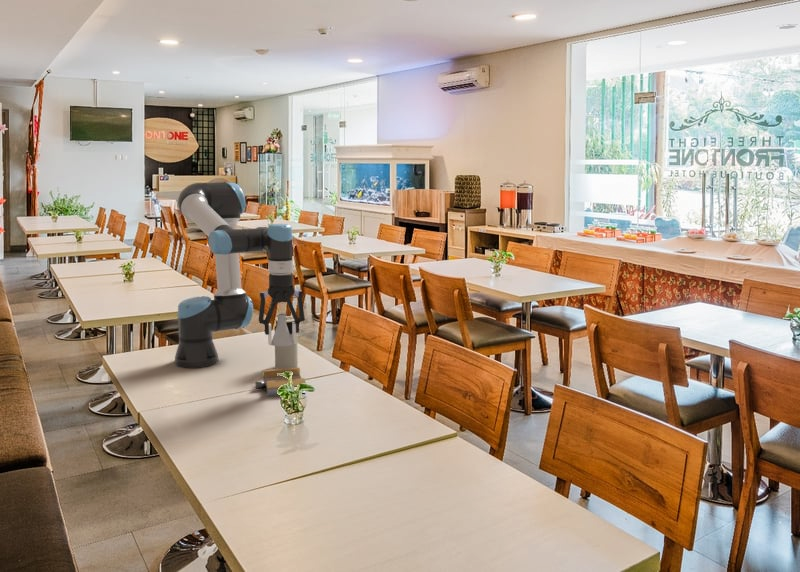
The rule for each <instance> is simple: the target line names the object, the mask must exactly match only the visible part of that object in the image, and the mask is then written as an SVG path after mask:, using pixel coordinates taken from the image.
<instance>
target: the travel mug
mask: <svg viewBox="0 0 800 572" xmlns="http://www.w3.org/2000/svg"><path fill="white" fill-rule="evenodd" d="M274 320H275V326H274V331H275V330H276V327H277V322H278V317H277V316H276V317H275V319H274ZM292 322H295V321H294V318H293V316H292V315H290V316H287V315H286V324H287V328H288V330H289V333H290V336H291V338H292V341H293V336H292ZM298 352H299V351H298V333H296V344H294V343H293V344H292V345H289V346H274V367H275V368H274V369H286V368H299V365H298V363H299V361H298V360H299V358H298Z"/></svg>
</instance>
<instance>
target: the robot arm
mask: <svg viewBox="0 0 800 572" xmlns="http://www.w3.org/2000/svg"><path fill="white" fill-rule="evenodd" d="M177 207H178V209H179V210H178V211H180V213H181V214H182V216H184V218H186V219H188V220H191V221H192V222H193V223H195V224H196V226H197V227H198V228H199V229H200V230H201V231H202V232H203V233H204V234H205V235H206V236H207V237H208V246H209V249H210V252H211V253H212V254H214V259H215V271H216V285H217V287H216V288H217V289H216V291H215V292H214V293H213V297H214V298H213V299H212V298H211V297H209V296H207V295H206V296H205V295H204V296H193V297H190V298H186V299H184V300H182V301H181V302H179V304H178V306H177V323H178V324H177V326H178V346H177V349H176V352H175V355H174V364H175V366H177V367H181V368H189V369H190V368H192V369H194V368H204V367H205V368H206V367H210V366H212V365H216V363H218V362H219V353H218V351H217V348H216V346H215V343H214V341H213V333H215V332H223V331H229V330H239V329H241V328H246V327H247V326H249V325H250V324H251V321H252V319H253V315H254V303H253V300H252V299H251V297H250V296H248V295H247V291H245V290H244V289H243V288H242V279H241V277H242V276H241V266H240V263H241V262H240V254H243V253H244V254H245V253H260V252H268V257H267V258H268V272H269V274H268V288H267V290H265V291H259V292H258V293H259V298H260V303H259V311H258V323H260V324H263V325H264V334H265V335H267V336H268V345H269V346H273V345H272V339H273V336H272V324H271V323H270V321H271V319H272V316H273V313H274V311H275V307H276V305H277V304H279V303H287V306H288V308H289V310H290V313H291V317H293V318H294V321H295V322H292V336H293V343H294V344H296V333H297V334H299V333H300V323H302V322H304V321H305V320H306V319H305V318H306V317H305V310H304V304H303V295H304V292H303V291H302V290H301V289H299V290H297V289H295V288H294V274H293V273H292V272H293V271H294V268H293V267H294V266H293V264H294V263H293V239H294V236H293V230H292V229H293V228H292V226H291V225H290V224H288V223H271V224H269V225H268V227H267V226H259V227H254V228H241V229H238V225H237V224H238V222H239V221H241V215H242V214H244V213H245V210H246V196H245V194H244V192H243V189H242V188H241V187H240V185H239V184H237V183H235V182H227V181H224V182H223V181H222V182H221V181H220V182H194V183H191V184H189V185H187V186H186V187H185V188H183V189H182V191H181V192H180V193H179V196H178V199H177ZM294 294H295V297H296V301H297V306H298V307H297V308H298V312H299V314H298V315H299V317H298V316H297V313H296V310H295V308H294V306H293V303H292V301H291V298H292V297H293V295H294ZM268 295H269V296H270V299H271V302H270V305H269V308H268V310H267V313H266V316H265V319H264V315H265V308H266V307H265V306H266V299H267V298H268Z"/></svg>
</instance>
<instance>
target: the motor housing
mask: <svg viewBox="0 0 800 572" xmlns="http://www.w3.org/2000/svg"><path fill="white" fill-rule="evenodd" d="M285 371H292V372H293V375H292V382H293V386H294V387H297V385H298V383H305V384H306V379H305V377H303V378H302V376H301V368H300V367H297V368H286V369H277V368H274V369H273V368H272V369H264V370H262V381H255V390H265V394H266V396H267V398H270V397H280V396H279V395H278V394H277V390H278V388H279V387H280V386H281V385H284V384H287V383H288V379H287V378H285V377H283V376H277V373H283V372H285Z"/></svg>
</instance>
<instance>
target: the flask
mask: <svg viewBox="0 0 800 572" xmlns="http://www.w3.org/2000/svg"><path fill="white" fill-rule="evenodd" d="M286 316H287V313H285V312H278V313H276V318H277V317H278V322H277V327H276V330H275V329H274V333H273V336H272V345H271V346H273V347H275V346H289V345H292V344H293V341H292V338H291V336H290V333H289V330H288V328H287V324H286Z"/></svg>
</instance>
